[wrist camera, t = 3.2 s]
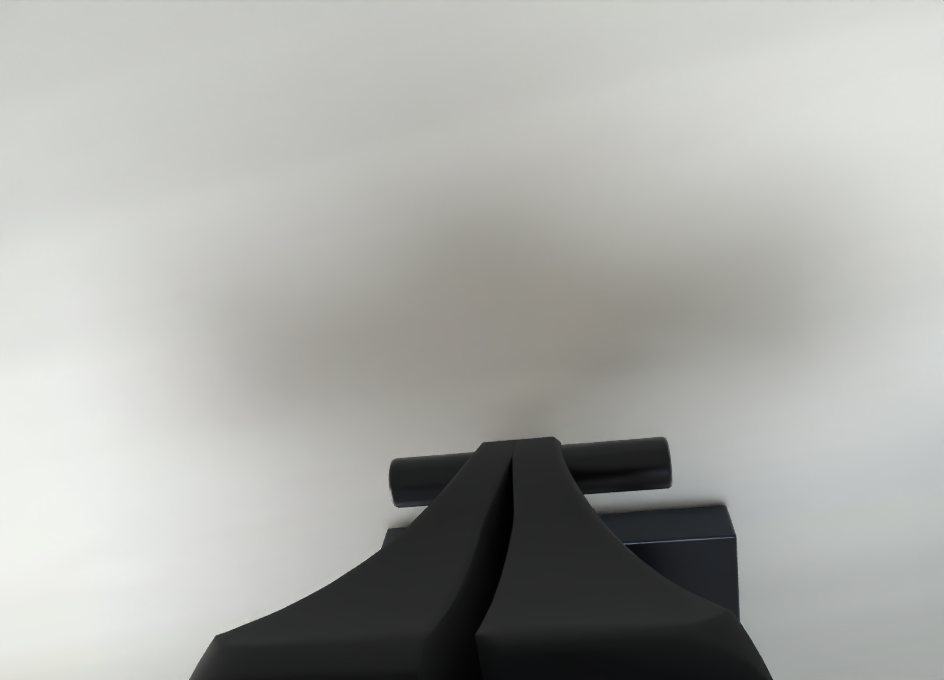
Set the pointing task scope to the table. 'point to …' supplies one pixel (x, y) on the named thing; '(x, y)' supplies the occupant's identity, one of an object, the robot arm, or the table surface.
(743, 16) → the table surface
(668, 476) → the lever
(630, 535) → the bracket
